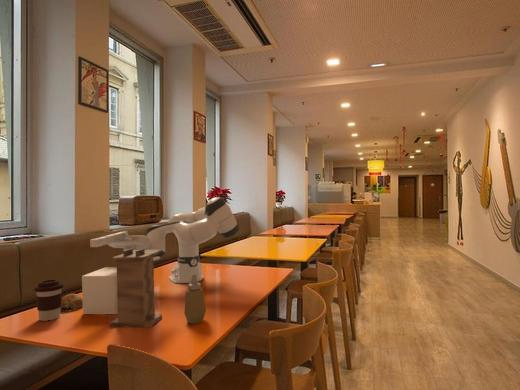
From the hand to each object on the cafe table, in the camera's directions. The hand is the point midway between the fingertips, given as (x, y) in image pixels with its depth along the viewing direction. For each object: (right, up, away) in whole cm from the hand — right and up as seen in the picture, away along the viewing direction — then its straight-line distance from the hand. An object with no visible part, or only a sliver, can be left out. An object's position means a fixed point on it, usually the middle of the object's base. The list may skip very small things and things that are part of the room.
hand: (120, 234), depth 162 cm
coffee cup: (-20, -31, -22) cm, 43 cm away
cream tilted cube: (0, -31, -10) cm, 32 cm away
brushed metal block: (-1, -2, -9) cm, 9 cm away
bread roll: (-19, -32, -9) cm, 38 cm away
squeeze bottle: (+40, -30, -30) cm, 58 cm away
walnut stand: (+18, -30, -26) cm, 44 cm away
